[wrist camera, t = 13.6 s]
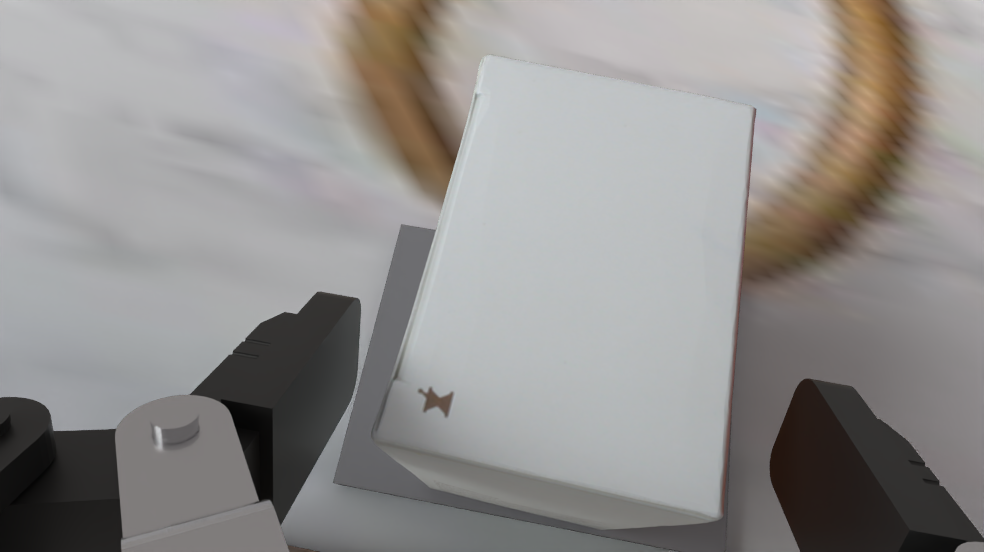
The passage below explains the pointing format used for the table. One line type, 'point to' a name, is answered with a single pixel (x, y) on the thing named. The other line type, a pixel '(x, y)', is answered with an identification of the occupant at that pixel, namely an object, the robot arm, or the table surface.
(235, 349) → the robot arm
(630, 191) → the small box
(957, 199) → the table surface
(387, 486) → the charcoal mat
